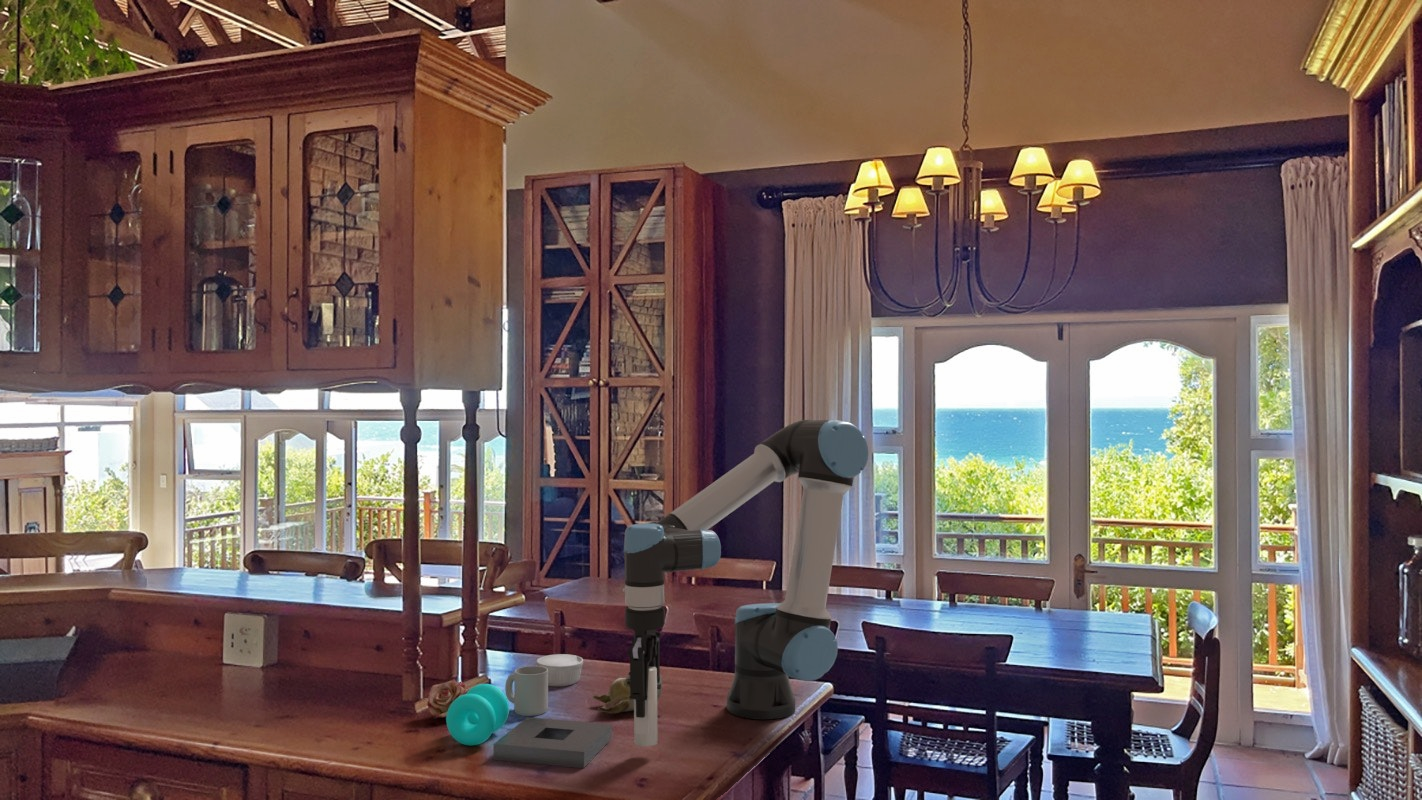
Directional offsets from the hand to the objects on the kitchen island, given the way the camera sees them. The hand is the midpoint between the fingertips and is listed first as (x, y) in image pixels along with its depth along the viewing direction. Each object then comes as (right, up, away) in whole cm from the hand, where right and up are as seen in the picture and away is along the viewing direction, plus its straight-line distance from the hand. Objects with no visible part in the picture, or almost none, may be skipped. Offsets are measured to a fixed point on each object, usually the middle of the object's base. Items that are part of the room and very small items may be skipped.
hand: (645, 728), depth 184 cm
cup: (-28, -6, +27) cm, 40 cm away
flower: (-44, -5, +21) cm, 49 cm away
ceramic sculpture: (-6, -6, +28) cm, 29 cm away
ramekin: (-24, -6, +50) cm, 56 cm away
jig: (-18, -5, +4) cm, 19 cm away
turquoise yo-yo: (-34, -5, +9) cm, 36 cm away
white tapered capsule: (0, -3, 0) cm, 3 cm away
